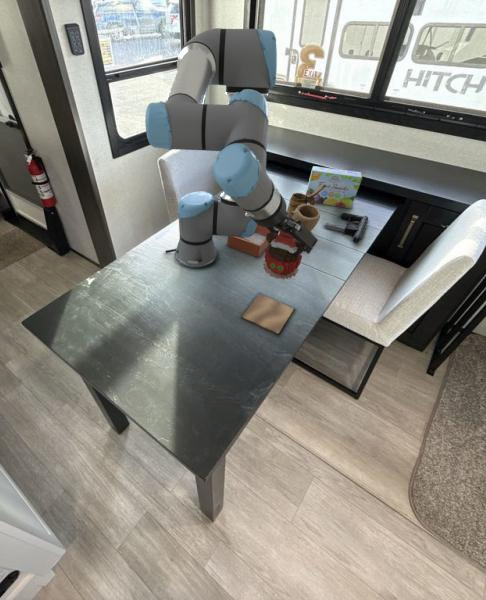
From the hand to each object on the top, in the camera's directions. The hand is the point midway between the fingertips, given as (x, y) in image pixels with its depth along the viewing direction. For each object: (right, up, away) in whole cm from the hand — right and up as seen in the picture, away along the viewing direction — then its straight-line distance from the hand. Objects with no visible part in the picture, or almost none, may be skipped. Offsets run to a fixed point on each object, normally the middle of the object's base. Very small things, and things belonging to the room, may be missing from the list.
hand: (293, 240), depth 83 cm
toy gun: (+36, +14, +49) cm, 63 cm away
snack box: (+34, +30, +65) cm, 79 cm away
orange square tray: (-5, +7, +41) cm, 42 cm away
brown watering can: (+17, +18, +53) cm, 58 cm away
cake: (-2, -8, +5) cm, 10 cm away
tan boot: (+13, +8, +42) cm, 45 cm away
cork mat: (-4, -20, +14) cm, 25 cm away
